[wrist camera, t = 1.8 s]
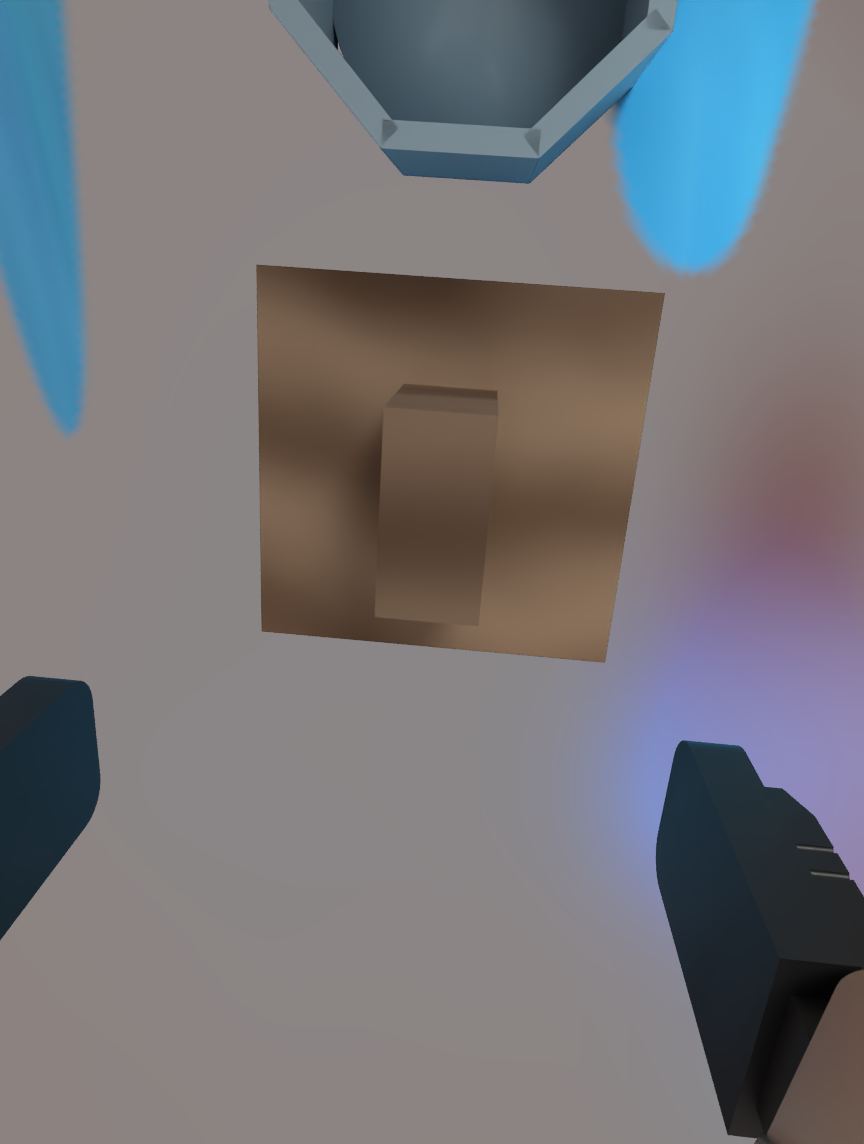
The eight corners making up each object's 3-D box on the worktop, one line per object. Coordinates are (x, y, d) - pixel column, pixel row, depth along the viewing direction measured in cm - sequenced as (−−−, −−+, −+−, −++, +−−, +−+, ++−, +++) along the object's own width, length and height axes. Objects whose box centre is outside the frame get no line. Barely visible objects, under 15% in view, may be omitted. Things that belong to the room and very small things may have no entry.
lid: (263, 265, 25) (199, 260, 19) (659, 293, 24) (707, 296, 19) (267, 622, 29) (216, 700, 24) (601, 652, 29) (627, 739, 23)
